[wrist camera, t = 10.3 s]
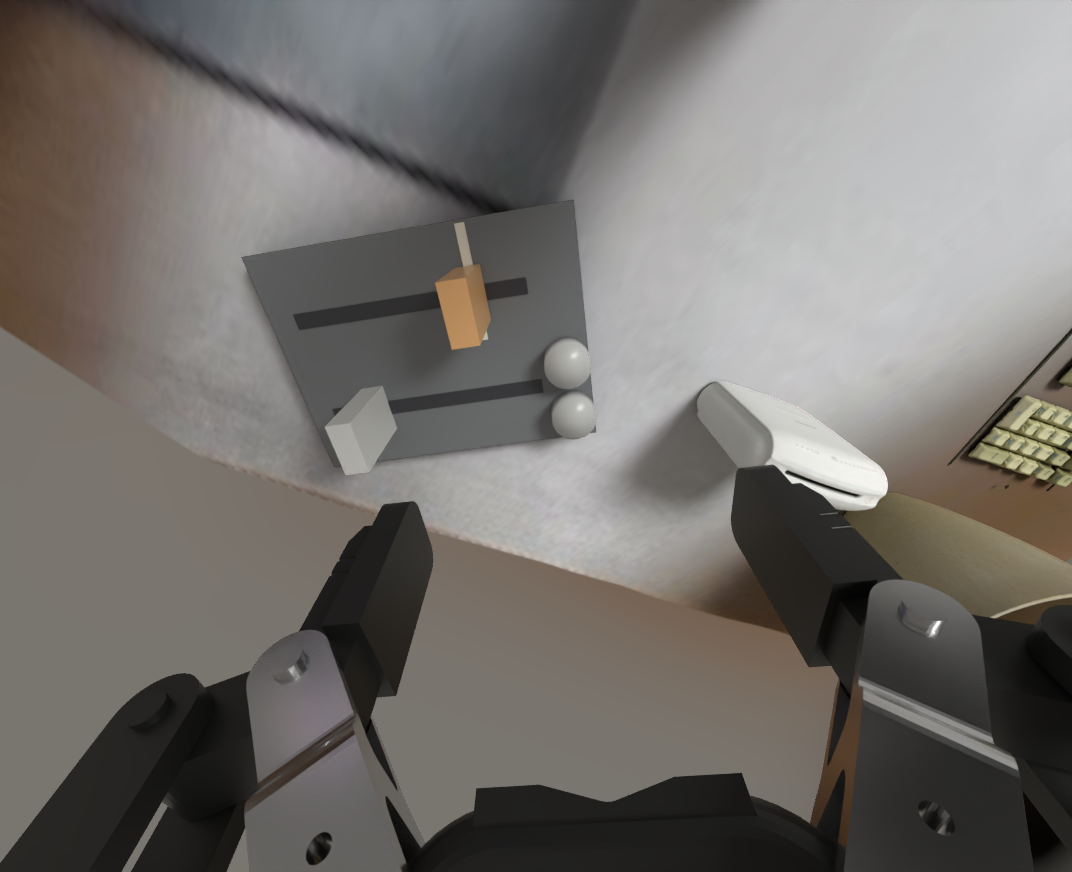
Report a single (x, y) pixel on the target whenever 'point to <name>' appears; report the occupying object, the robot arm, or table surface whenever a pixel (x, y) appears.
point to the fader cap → (464, 306)
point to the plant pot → (964, 559)
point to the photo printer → (790, 445)
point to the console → (434, 336)
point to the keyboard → (1030, 436)
